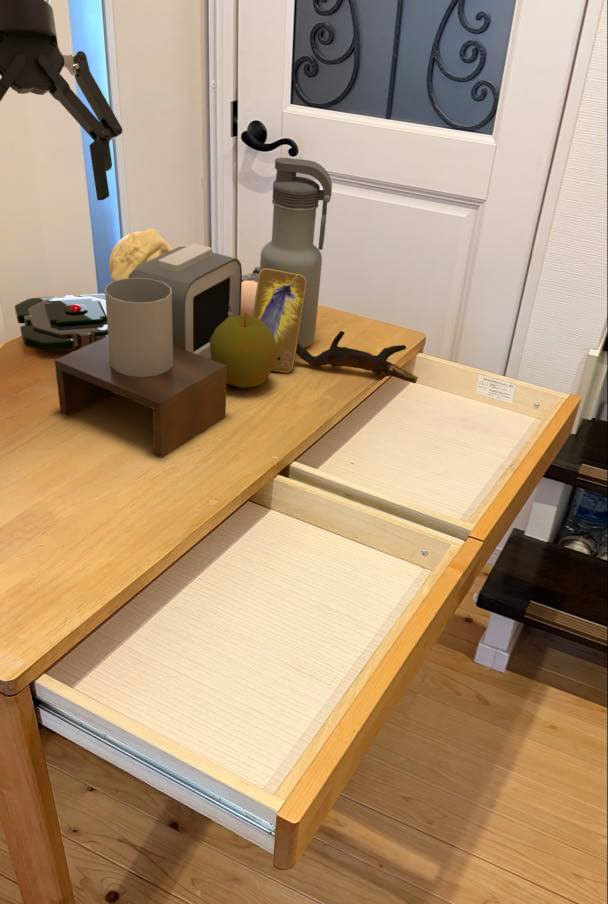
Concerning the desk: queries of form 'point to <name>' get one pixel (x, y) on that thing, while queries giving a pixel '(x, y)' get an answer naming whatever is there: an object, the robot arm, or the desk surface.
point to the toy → (357, 359)
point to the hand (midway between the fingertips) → (49, 198)
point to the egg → (248, 297)
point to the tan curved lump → (135, 252)
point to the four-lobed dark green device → (62, 321)
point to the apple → (244, 350)
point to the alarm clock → (196, 292)
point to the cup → (139, 326)
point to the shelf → (149, 391)
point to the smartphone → (281, 311)
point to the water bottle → (298, 232)
